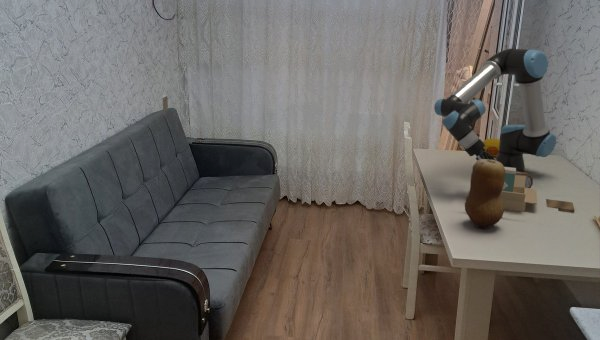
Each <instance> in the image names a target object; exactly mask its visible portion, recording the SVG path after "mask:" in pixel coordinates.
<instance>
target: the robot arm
mask: <svg viewBox="0 0 600 340" xmlns="http://www.w3.org/2000/svg"><path fill="white" fill-rule="evenodd" d="M548 67H549V61H548V57H547V55H546V53H545V52H544V51H542V50H537V49H526V48H523V49H522V48H521V49H520V48H506V49H504V50H501V51H499V52H497V53H495V54H493V55H492V56H491V57H489V58H488V59H487V60H485V61H484V62H483V63H482V66H481V68H480V69H478V70H477V71H476V72H475V73H474V74H473V75H472V76H470V77H469V78H468V79H467V80H466V81H465V82H464V83H463V84H461V86H459V87H458V88H457V89H456V90H455V91H454V92H453V93H451V94H450V95H449V96H448V97H447V98H440V99H437V101H436V102H435V104H434V108H433V109H434V112H435V114H436V115H438V116H441V117H443V119H442V120H441V123H442V125H443V126H444V128H445V129H446V131H448V132H449V134H450V135H451V136H452V137H453V138H454V139H455V140H456V141H457V142H458V146H461V147H462V148H463V149H465V153H467V155H469V157H473V156H474V155H475V156H476V157H475V160H476V162H477V161H478V160H480V159H488V160H496V161H498V162H500V163H502V164H503V166H504V167H511V168H516V171H519V172H525V170H526V165H525V161H524V154H528V155H532V156H535V157H541V158H546V157H548V156H550V155H551V154H552V152H553V151H554V150H555V149H554V148H555V147H556V144H557V136H556V135H555V134H553V133H551V131H550V127H549V126H548V125H546V119H545V111H544V104H543V103H544V102H543V94H542V93H543V92H542V86H541V81H542V79H543V78H544V76H545V75H546V73H547V71H548ZM505 75H511V76H514V78H515V83H516V84H518V85H519V89H520V96H521V103H522V111H523V118H524V124H507V125H503V126H502V128H501V129H500V130H501V131H500V133H499V135H500V138H499V139H500V144H499V152H498V155H497V157H492V156H491V155H490V154H489V153H488V152H487V151H486V150H485V149H484V146H485V144H484V143H483V142H484V141H483V140H482V139H480V138H479V136H478V135H477V134H476V132H475V131H474V130H473V129H472V128H471V126H472V125H473V124H474V123H476V122H477V121H478V120H479V119H480V118H481V117H483V116H484V114H485V113H486V111H487V109H486V105H485V103H484V102H482V100H481V99H473V98H474V97H476V96H477V95H478V94H479V93H480V92H481V91H483V89H485V88H486V87H487V86H488V85H489V84H490V83H491V82H492V81H494V80H497V79H499V78H500V77H502V76H505ZM507 186H508V185H507V184H506V183H505V182H504V186H503V189H505V188H506V187H507ZM503 189H502V190H503Z"/></svg>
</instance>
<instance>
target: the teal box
mask: <svg viewBox="0 0 600 340" xmlns="http://www.w3.org/2000/svg"><path fill="white" fill-rule="evenodd" d="M504 168H505V180H504V182H505V183H506V184H507V185H508V186H507V187H506V188H505V189H503V190H502V191H507V192H513V187H514V180H515V174H516V168H511V167H504Z"/></svg>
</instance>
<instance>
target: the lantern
mask: <svg viewBox="0 0 600 340" xmlns="http://www.w3.org/2000/svg"><path fill="white" fill-rule="evenodd" d="M482 142H483V143H484V144H485V146H484V149H485V150H486V151H487V152H488V153H489V154H490V155H491V156H492V157H493V158H497V155H498V152H499V144H500V138H499V139H498V138H486V139H485V140H484V141H482Z"/></svg>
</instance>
